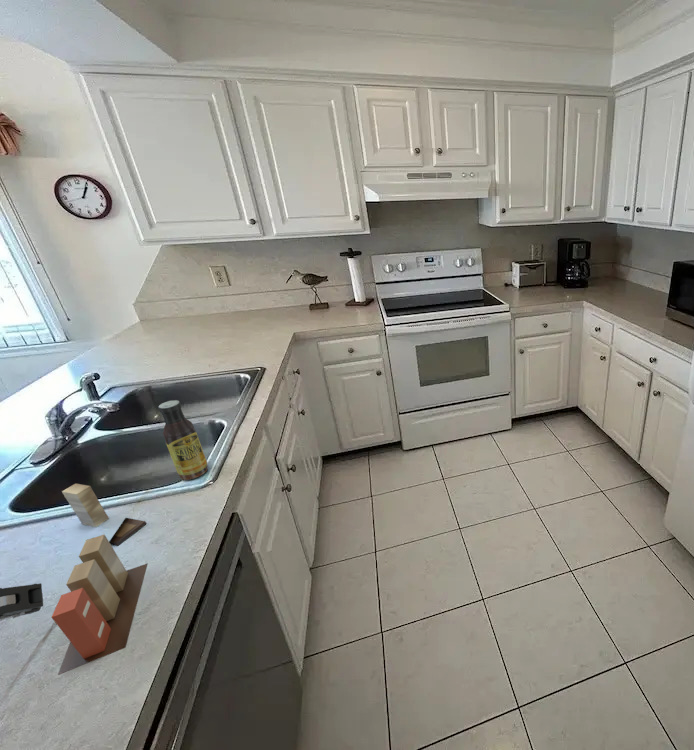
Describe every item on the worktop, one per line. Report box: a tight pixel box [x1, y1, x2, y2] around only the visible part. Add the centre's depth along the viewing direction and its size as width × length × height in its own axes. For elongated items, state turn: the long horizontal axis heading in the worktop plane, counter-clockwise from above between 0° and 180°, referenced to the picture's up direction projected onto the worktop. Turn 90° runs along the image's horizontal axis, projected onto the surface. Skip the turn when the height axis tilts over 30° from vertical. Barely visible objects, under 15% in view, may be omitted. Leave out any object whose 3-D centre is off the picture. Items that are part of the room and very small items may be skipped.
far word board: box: [61, 483, 147, 547], centre depth 85 cm, size 6×12×11 cm, turn 77°
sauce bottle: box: [158, 399, 209, 481], centre depth 99 cm, size 6×6×20 cm
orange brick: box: [51, 588, 111, 659], centre depth 63 cm, size 3×4×10 cm, turn 29°
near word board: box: [57, 534, 148, 676], centre depth 67 cm, size 8×18×11 cm, turn 29°
